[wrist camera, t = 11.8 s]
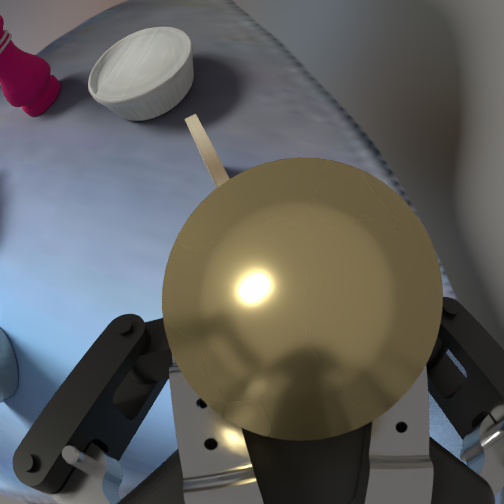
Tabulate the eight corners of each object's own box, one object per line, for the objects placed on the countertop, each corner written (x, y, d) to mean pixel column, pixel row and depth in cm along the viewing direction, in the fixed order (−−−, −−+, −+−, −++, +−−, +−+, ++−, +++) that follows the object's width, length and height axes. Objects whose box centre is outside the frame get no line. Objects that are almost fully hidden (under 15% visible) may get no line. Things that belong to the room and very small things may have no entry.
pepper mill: (65, 98, 29) (-19, 3, 9) (26, 129, 28) (-65, 53, 9) (62, 70, 30) (-6, -15, 10) (26, 99, 30) (-48, 27, 10)
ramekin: (109, 75, 29) (92, 49, 24) (195, 46, 29) (185, 14, 23) (107, 145, 27) (82, 119, 22) (209, 111, 27) (198, 76, 21)
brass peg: (288, 351, 17) (341, 478, 4) (228, 311, 18) (112, 333, 4) (328, 291, 18) (476, 256, 4) (268, 252, 18) (267, 115, 5)
